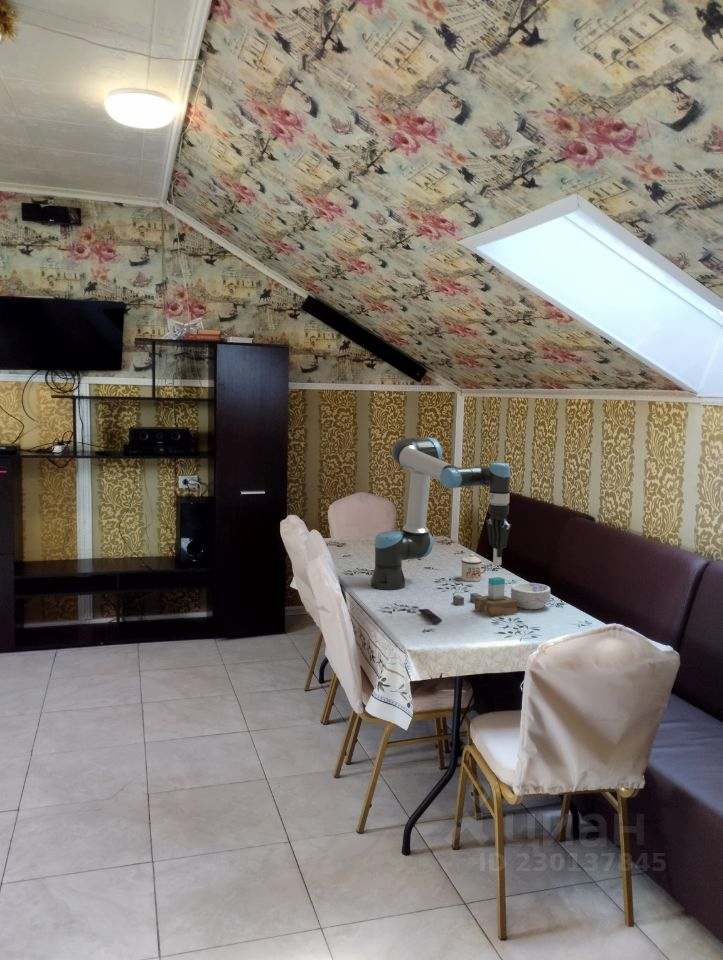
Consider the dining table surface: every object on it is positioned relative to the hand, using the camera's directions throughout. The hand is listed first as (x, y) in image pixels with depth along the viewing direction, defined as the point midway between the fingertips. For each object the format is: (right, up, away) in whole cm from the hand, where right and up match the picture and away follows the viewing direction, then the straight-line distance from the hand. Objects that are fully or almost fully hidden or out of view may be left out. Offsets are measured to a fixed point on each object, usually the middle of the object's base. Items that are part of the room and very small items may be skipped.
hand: (497, 564), depth 289 cm
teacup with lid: (-1, -13, +53) cm, 54 cm away
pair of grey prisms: (-10, -17, +14) cm, 24 cm away
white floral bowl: (+15, -18, +10) cm, 25 cm away
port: (0, -18, +2) cm, 18 cm away
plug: (0, -17, +2) cm, 17 cm away
